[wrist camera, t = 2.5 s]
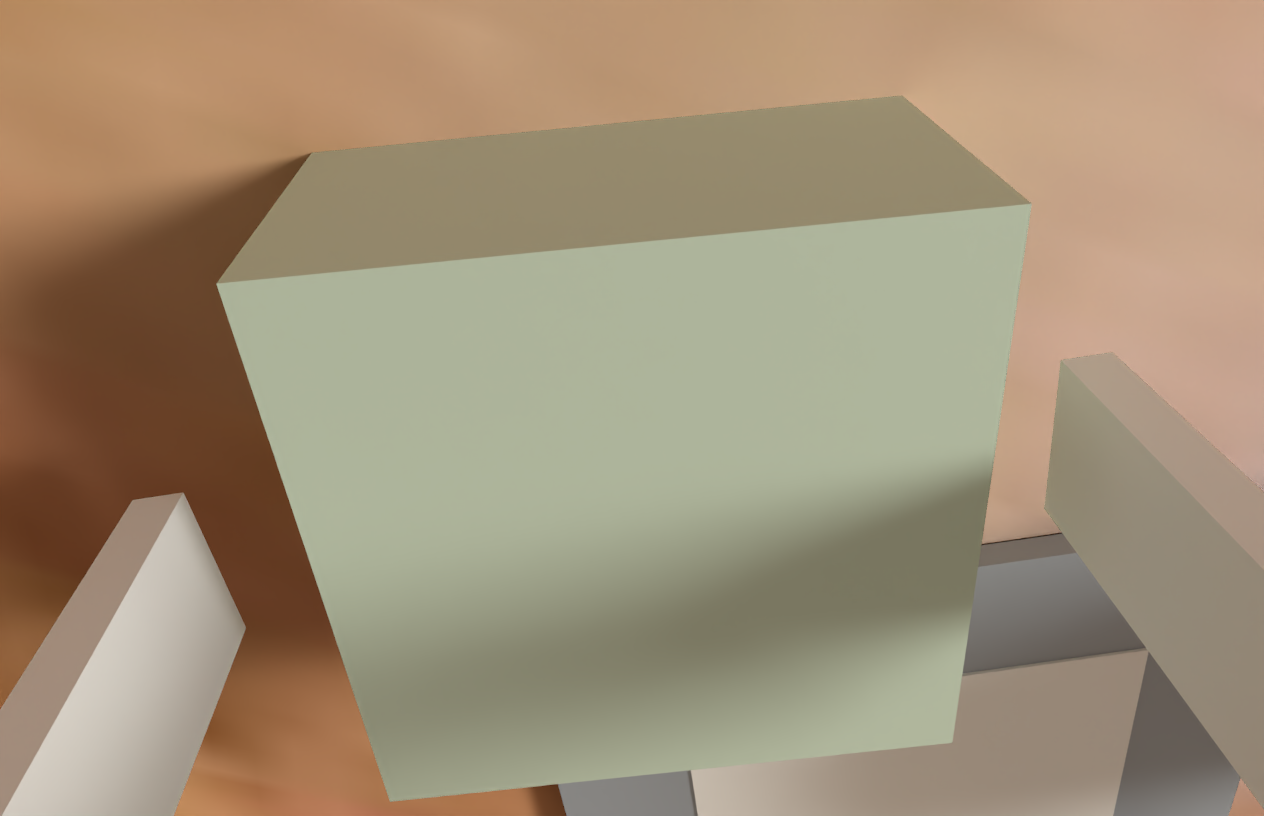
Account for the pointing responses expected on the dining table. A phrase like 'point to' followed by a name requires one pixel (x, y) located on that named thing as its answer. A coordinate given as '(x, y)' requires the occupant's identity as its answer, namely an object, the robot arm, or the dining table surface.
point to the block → (639, 434)
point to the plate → (993, 725)
